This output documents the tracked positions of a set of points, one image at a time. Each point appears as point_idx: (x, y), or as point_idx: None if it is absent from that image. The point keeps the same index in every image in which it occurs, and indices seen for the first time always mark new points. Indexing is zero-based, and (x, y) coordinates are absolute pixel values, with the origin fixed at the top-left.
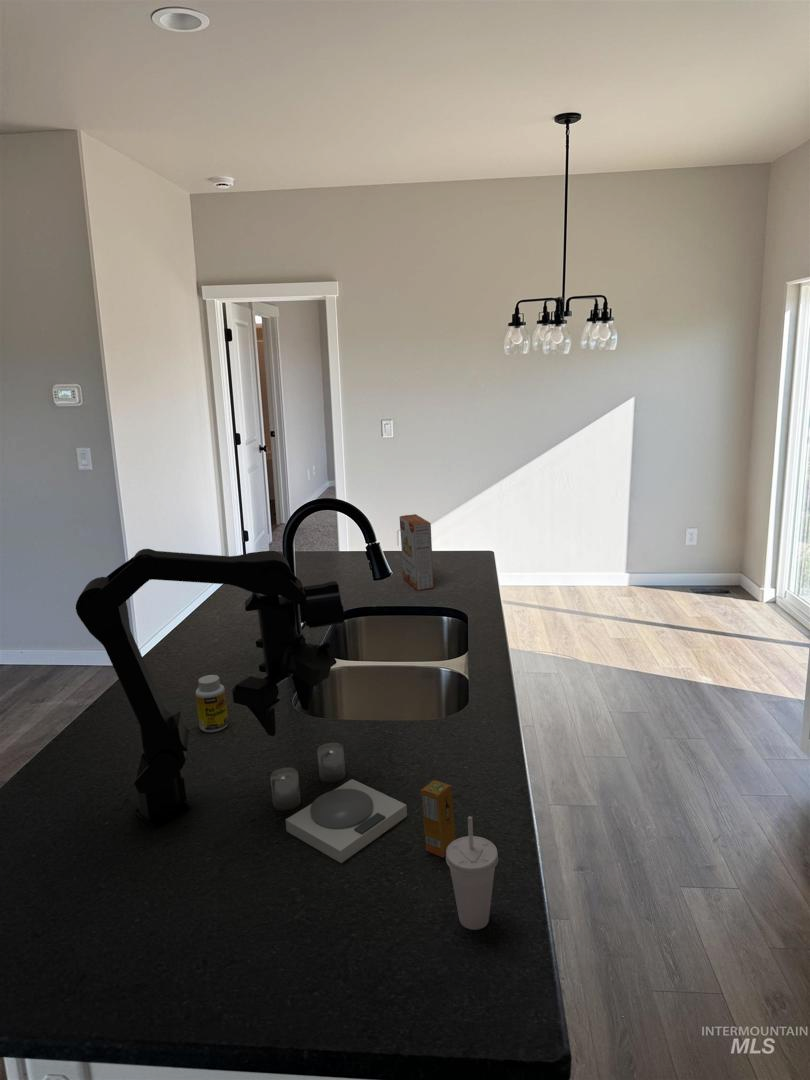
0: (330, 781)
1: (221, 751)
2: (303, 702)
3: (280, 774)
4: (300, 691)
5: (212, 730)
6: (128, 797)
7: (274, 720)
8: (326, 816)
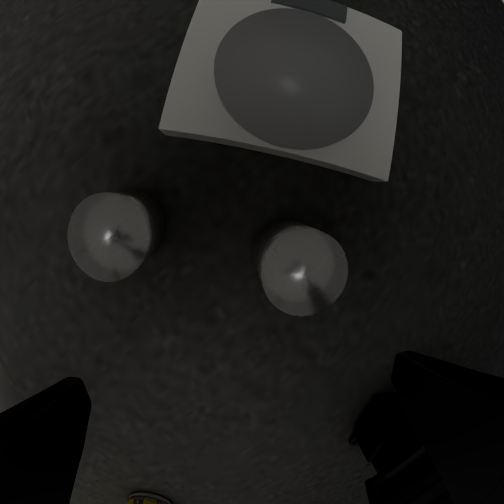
0: (160, 209)
1: (197, 470)
2: (72, 425)
3: (308, 286)
4: (52, 485)
5: (165, 500)
6: (363, 467)
7: (471, 384)
8: (350, 85)
